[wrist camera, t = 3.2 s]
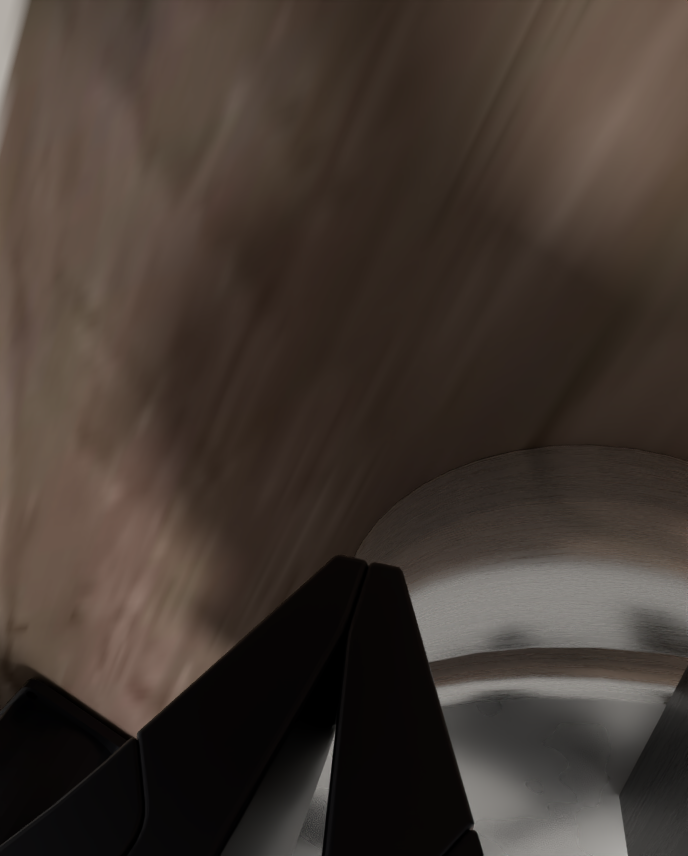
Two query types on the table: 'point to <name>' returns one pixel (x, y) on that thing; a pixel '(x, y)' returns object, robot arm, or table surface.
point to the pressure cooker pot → (545, 552)
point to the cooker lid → (561, 752)
